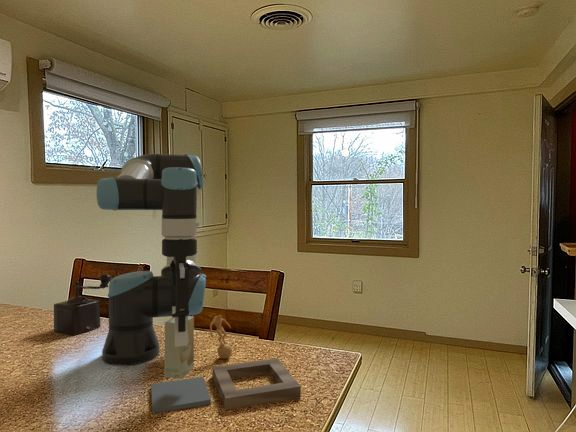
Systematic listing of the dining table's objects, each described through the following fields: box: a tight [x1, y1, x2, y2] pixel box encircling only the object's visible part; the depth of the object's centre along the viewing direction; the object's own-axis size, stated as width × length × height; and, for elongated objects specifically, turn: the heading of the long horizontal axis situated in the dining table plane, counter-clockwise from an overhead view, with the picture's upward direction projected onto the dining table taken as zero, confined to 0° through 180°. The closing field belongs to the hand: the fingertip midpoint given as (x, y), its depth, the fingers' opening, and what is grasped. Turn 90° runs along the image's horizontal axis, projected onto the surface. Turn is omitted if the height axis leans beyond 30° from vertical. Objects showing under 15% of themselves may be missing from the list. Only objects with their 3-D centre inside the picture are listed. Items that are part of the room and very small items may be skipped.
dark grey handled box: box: [53, 273, 113, 337], centre depth 137 cm, size 16×11×18 cm
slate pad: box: [150, 376, 212, 415], centre depth 90 cm, size 12×12×1 cm
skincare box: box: [163, 315, 195, 380], centre depth 89 cm, size 6×4×12 cm
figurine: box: [209, 314, 233, 360], centre depth 112 cm, size 8×6×12 cm
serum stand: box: [211, 357, 302, 411], centre depth 94 cm, size 17×17×2 cm
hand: (179, 339), depth 89 cm, fingers closed on skincare box, 7 cm apart
